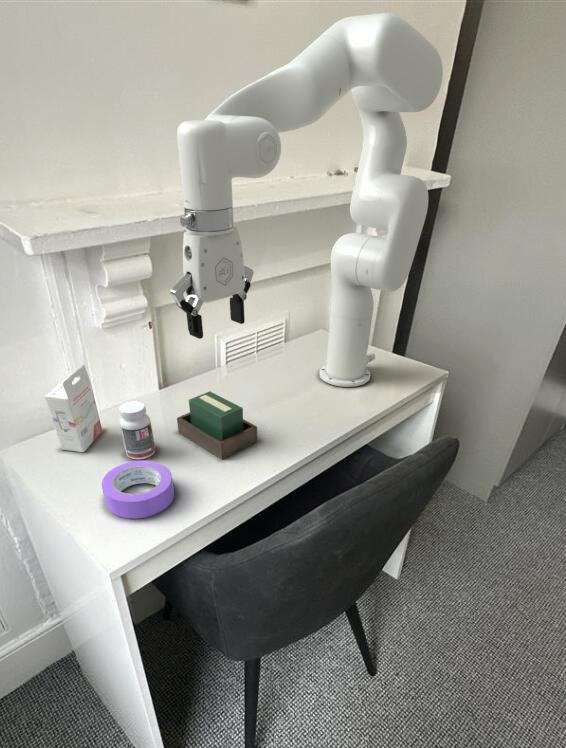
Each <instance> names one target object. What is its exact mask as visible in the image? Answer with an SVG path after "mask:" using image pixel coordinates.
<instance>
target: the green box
mask: <svg viewBox="0 0 566 748" xmlns="http://www.w3.org/2000/svg"><path fill="white" fill-rule="evenodd" d="M188 407H189V408H188V409H189V412H190V417H191V424H192V425H194V426H196V427H198V428H199V429H201V430H203V431H204V432H206V433H208V434H209V435H211V436H213V437H215V438H216V439H218V440H220V441H221V442H222V441H224V440H226V439H228V438H230V437H232V436H234V435H236V434H238V433H240V432H242V431H243V419H244V408H243V407H242V406H240V405H238V404H236V403H234V402H232V401H230V400H229V399H226V398H224V397H222V396H220V395H218V394H216V393H214V392H212V391H210V390H209V391H207V392H203V393H202V394H199V395H197V396H195V397H192V398H190V399H188Z"/></svg>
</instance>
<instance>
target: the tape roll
mask: <svg viewBox="0 0 566 748" xmlns="http://www.w3.org/2000/svg"><path fill="white" fill-rule="evenodd" d="M139 484H140V485H141V484H149V485H153V486H154V487H153V488H150V489H149V490H147V491H144V492H140V493H127V492H123V491H124V490H125V489H127V488H129V487H131V486H134V485H139ZM101 489H102V493H103V498H104V501H105V505H106V507H107V509H108V510H109V511H110V512H111V513H112V514H113V515H115V516H117V517H119V518H125V519H131V520H132V519H136V520H137V519H144V518H149V517H153V516H155V515H157V514H159V513H161V512H163V511H164V510H166V509H167V508H168V507H169V506H170V505H171V504H172V502H173V500H174V497H175V488H174V482H173V474H172V472H171V470H170V469H169V468H168V467H167V466H166V465H164V464H162V463H159V462H157V461H152V460H134V461H133V460H132V461H128V462H125V463H121V464H119V465H116V466H115V467H113V468H111V469H110V470H109V471H108V472H107V473H106V474H105V475H104V477H103V479H102V480H101Z"/></svg>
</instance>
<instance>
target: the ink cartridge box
mask: <svg viewBox="0 0 566 748" xmlns="http://www.w3.org/2000/svg"><path fill="white" fill-rule="evenodd" d="M44 398H45V401H46V404H47V407H48V410H49V414H50V416H51V419H52V422H53V426H54V428H55V431H56V435H57V438H58V440H59V444H60V447H61V450H62V451H70V452H79V453H85V451H86V450H87V449H88V448H89V447H90V446H91V445H92V444H93V442H94V441H95V440H96V439H97V438H99V437H98V436H99V435H100V434H101V433H102V432H103V428H102V423H101V418H100V415H99V411H98V406H97V403H96V399H95V395H94V391H93V387H92V382H91V379H90V377H89V374H88V371H87V368H86V366H85V364H83V365H81V366H80V367H79V368H78V369H77V370H75V371H74V372H73V373H71V374H70V375H69V376H67V377H66V378H65V379H64V380H62V381H61V382H60V383H59V384H58V385H57V386H55V387H54V388H53V389H52V390H51V391H50V392H48V393H46V394H45V395H44Z"/></svg>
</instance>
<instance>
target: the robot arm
mask: <svg viewBox="0 0 566 748" xmlns="http://www.w3.org/2000/svg"><path fill="white" fill-rule="evenodd" d="M441 58H442V57H441V55H440V53H439V51H438V50H437V47H435V46H434V45H433V44H432V43H431V42H430V41H429V40H428V39H427V38H426V37H425V36H423V34H422V33H421V32H420V31H418V30H417V29H416V28H415V27H414V26H413V25H411V24H410V23H409V21H406V20H405V19H403V18H402V17H401V16H398V15H396V14H394V13H392V12H380V13H372V14H371V13H370V14H361V15H360V14H359V15H351V16H346V17H343V18H341V19H340V20H338V21H336V22H334V23H333V24H332V25H331V26H330V27H328V28H327V29H326V30H325V31H323V33H321V35H319V37H317V38H316V39H315V40H314V41H312V42H311V44H309V45H308V46H307V47H306V48H305V49H303V51H302V52H300V53H299V54H298V55H297V56H296V57H294V58H293V59H292V60H291V61H290V62H288V63H287V64H285V65H283V66H281V67H279V68H277V69H275V70H273V71H271V72H269V73H268V74H266V75H265V76H263V77H261V78H259V79H257V80H255V81H253V82H251V83H250V84H247V85H246V86H244V87H242V88H240V89H239V90H237V91H236V92H234V93H233V94H231V95H230V96H228V97H227V98H226V99H225V100H224V101H223V102H221V103H220V104H219V105H218V106H217V107H216V108H214V109H213V110H212V111H211V112H210V113H209V114H208V115H207V116H206V117H205V119H193V120H192V119H191V120H185V121H182V122H180V124H179V125H178V127H177V130H176V141H177V142H176V143H177V150H178V159H179V160H178V161H179V171H180V177H181V178H180V179H181V189H182V199H183V200H182V201H183V209H184V211H183V212H184V216H181V217H180V218H179V222H180V225H181V226H182V227H185V230H186V231H184V232H183V237H182V238H183V239H182V273H183V277H182V278H181V279H180V280H178V282H177V283H176V284H174V286H173V287H172V288H171V289H170V292H169V293H170V295H171V297H172V299H173V300H174V302H175V304H176V306H177V307H178V308H179V309H181V310H182V312H183V313H186V321H187V330H188V333H189V335H190V336H192V337H194V338H196V339H198V340H201V339H203V338H204V331H203V330H204V329H203V318H202V314H199V312H200V310H201V308H202V307H203V304H204V303H205V304H208V303H213V302H215V301H219V300H222V299H225V298H229V314H230V316H229V317H230V320H231V321H232V322H234V323H237V324H240V325H244V324H245V322H246V321H245V319H246V318H245V301H246V300H247V299H248V295H247V294H248V293H249V291H250V289H251V285H252V284H251V282H252V279H253V276H254V273H255V272H254V269H253V268H250V267H249V266H246V265H245V260H244V254H243V252H244V251H243V247H242V241H241V237H240V231H239V229H238V227H236V226H235V225H234V223H235V222H234V205H233V203H234V202H233V184H232V183H233V182H232V180H233V179H234V178H246V179H259V178H264V177H265V176H267V175H269V174H270V173H272V172H273V170H275V168H276V167H277V165H278V163H279V160H280V158H281V153H282V141H281V137H280V133H285V132H290V131H295V130H298V129H301V128H304V127H307V126H310V125H312V124H314V123H316V122H317V121H319V120H320V119H321V118H322V117H323V116H324V115H326V113H327V112H328V111H330V109H331V108H332V107H334V106H335V105H336V104H337V103H338V102H339V101H340V100H341V99H342V98H343V97H344V96H346V94H348V93H349V92H350V93H351V97H352V99H353V102H354V104H355V107H356V109H357V112H358V115H359V119H360V122H361V126H362V137H363V138H362V146H361V153H360V158H359V162H358V167H357V171H356V175H355V180H354V184H353V189H352V193H351V199H350V203H349V215H350V218H351V220H352V221H353V222H354V223H356V224H358V225H360V226H363V227H367V228H372V229H377V230H382V231H387V236H386V238H385V237H381V236H377V235H372V234H367V233H361V232H349V233H346V234H344V235H342V236H341V237H339V238H338V239H337V240H336V241H335V242H334V245H333V247H332V249H331V253H330V273H331V287H332V289H331V293H332V294H331V295H332V296H331V306H330V309H331V310H330V319H329V329H328V339H327V340H328V341H327V351H326V352H327V353H326V364H324V365H323V366H321V368H319V372H318V373H319V378H320V379H321V380H322V381H323V382H325V383H327V384H329V385H332V386H336V387H342V388H354V387H359V386H362V385H365V384H366V383H368V382H369V381H370V379H371V371H370V370H369V369H368V368H367V365H368V364H369V363H370V362H373V361H374V360H376V354H375V353H374V352H370V353H368V348H369V342H370V335H371V326H372V319H373V315H374V305H375V304H374V295H373V292H372V289H374V290H377V291H382V292H386V293H390V292H395V291H397V290H399V289H400V288H401V287H403V285H404V284H405V282H406V281H407V279H408V276H409V274H410V271H411V268H412V265H413V262H414V260H415V259H414V258H415V255H416V253H417V248H418V245H419V241H420V239H421V235H422V232H423V228H424V225H425V222H426V217H427V214H428V208H429V190H428V187H427V185H426V183H425V182H424V181H423V179H421V178H419V177H417V176H415V175H407V174H402V169H403V165H404V160H405V157H406V152H407V148H408V147H407V146H408V138H407V131H406V127H405V125H404V121H403V119H402V116H401V113H419V112H422V111H425V110H427V109H428V108H429V107H430V106H432V105H433V103H434V102H435V100H436V99H437V97H438V95H439V93H440V90H441V87H442V83H443V77H444V68H443V61H442V59H441ZM184 293H185V294H186V296H187V297H186V299H185V295H184Z"/></svg>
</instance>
